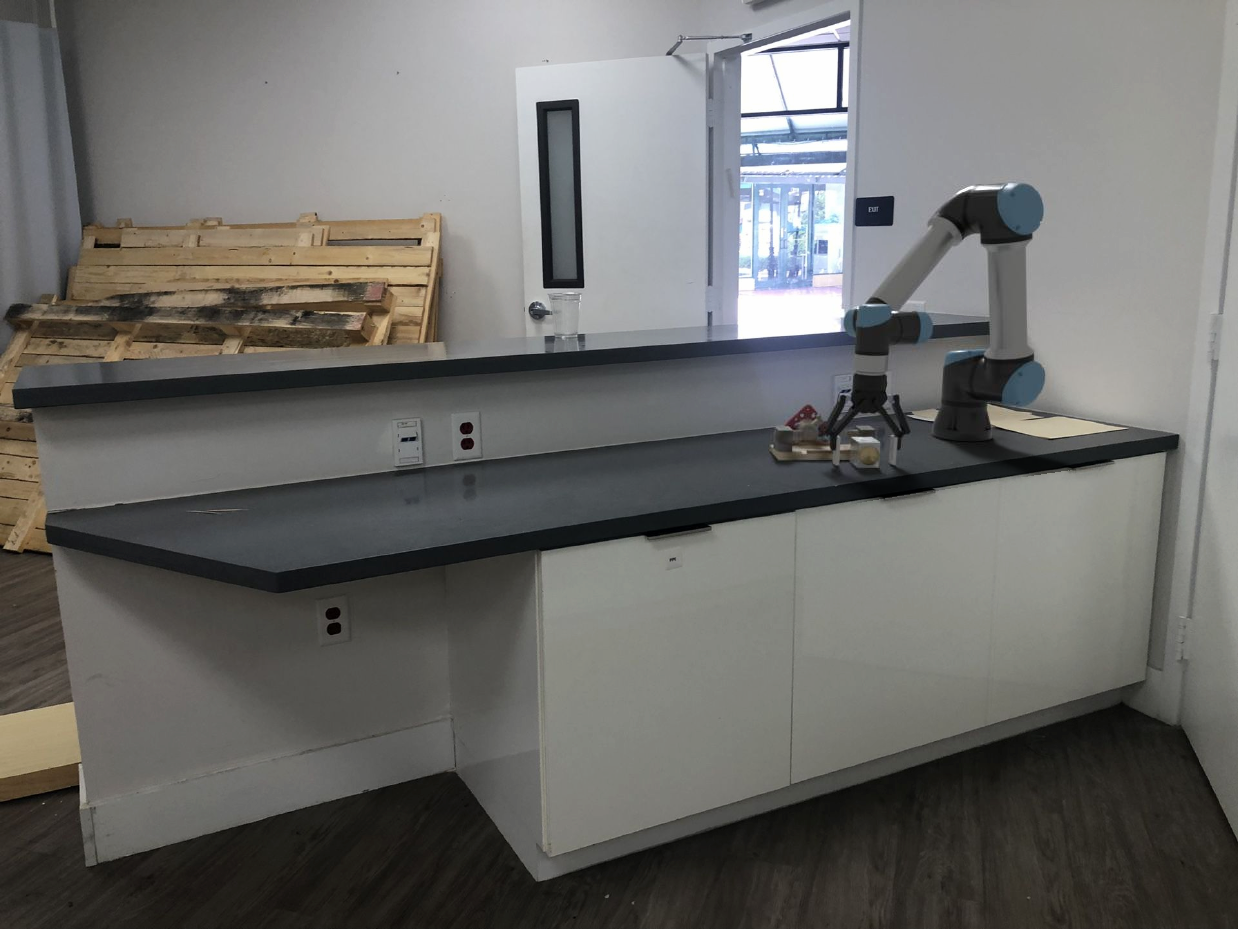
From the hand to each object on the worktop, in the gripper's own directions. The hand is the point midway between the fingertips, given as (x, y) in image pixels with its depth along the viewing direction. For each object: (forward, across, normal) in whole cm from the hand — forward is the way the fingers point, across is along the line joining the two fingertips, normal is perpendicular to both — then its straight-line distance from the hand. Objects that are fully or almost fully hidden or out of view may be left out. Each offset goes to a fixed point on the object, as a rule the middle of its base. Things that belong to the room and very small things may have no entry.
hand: (864, 463), depth 225 cm
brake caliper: (+1, +9, -19) cm, 21 cm away
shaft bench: (0, +7, -10) cm, 12 cm away
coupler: (0, 0, 0) cm, 0 cm away
